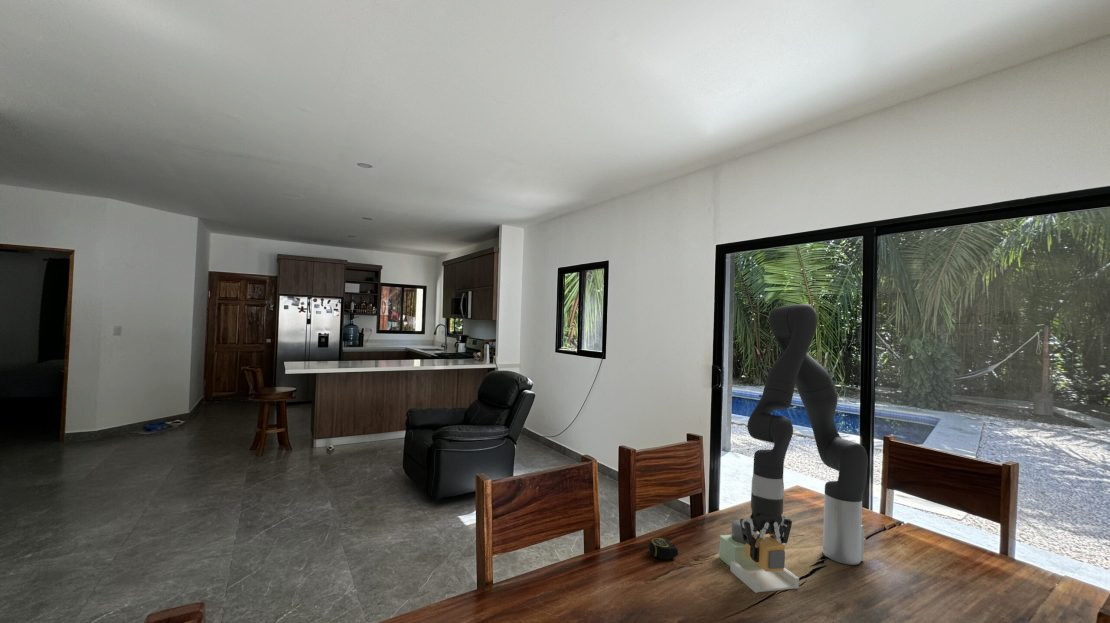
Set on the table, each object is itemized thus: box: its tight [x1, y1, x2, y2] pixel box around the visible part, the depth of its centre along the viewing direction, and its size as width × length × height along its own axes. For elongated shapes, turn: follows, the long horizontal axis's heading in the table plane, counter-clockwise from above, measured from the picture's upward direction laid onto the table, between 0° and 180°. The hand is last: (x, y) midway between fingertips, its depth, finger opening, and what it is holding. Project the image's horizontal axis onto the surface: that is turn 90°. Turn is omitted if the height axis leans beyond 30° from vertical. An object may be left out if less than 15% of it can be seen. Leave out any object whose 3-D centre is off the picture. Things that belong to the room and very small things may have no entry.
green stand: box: [718, 519, 800, 594], centre depth 123 cm, size 12×17×10 cm
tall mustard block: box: [746, 531, 786, 572], centre depth 119 cm, size 5×9×6 cm, turn 13°
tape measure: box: [648, 537, 679, 560], centre depth 129 cm, size 7×7×4 cm
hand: (764, 559), depth 119 cm, fingers closed on tall mustard block, 5 cm apart
